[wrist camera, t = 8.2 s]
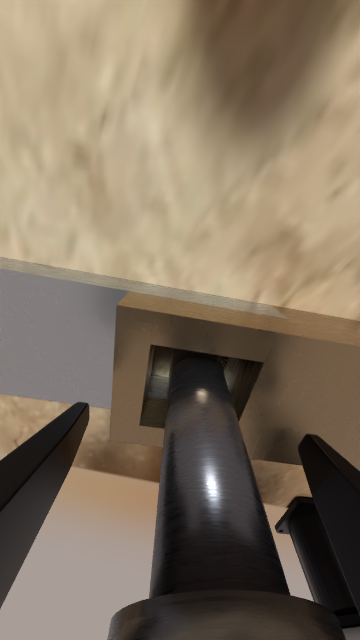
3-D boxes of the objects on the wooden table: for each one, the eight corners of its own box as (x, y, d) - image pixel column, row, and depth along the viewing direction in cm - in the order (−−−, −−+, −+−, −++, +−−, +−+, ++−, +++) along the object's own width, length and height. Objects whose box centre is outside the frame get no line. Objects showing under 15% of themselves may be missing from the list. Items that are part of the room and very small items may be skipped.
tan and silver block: (343, 419, 15) (394, 477, 12) (1, 369, 14) (-65, 418, 10) (408, 330, 12) (506, 371, 9) (-27, 252, 11) (-137, 261, 7)
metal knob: (217, 382, 14) (313, 781, 4) (157, 373, 14) (84, 776, 4) (235, 328, 12) (500, 798, 2) (166, 317, 12) (75, 790, 2)
